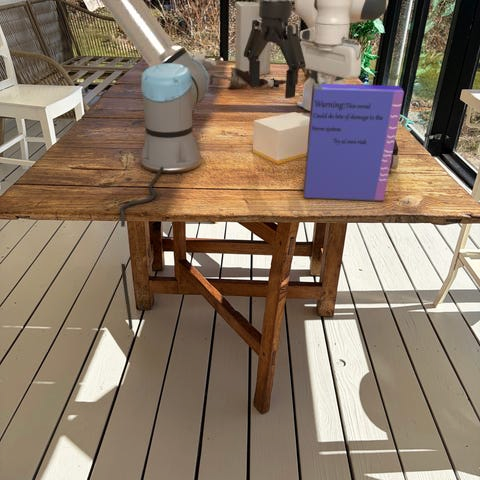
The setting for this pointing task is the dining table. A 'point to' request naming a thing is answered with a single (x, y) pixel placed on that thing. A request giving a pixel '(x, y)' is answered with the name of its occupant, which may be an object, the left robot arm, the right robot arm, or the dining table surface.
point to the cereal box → (351, 141)
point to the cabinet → (281, 137)
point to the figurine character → (394, 157)
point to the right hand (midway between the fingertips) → (325, 89)
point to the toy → (201, 58)
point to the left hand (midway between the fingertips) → (271, 92)
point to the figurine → (245, 79)
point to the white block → (243, 29)
